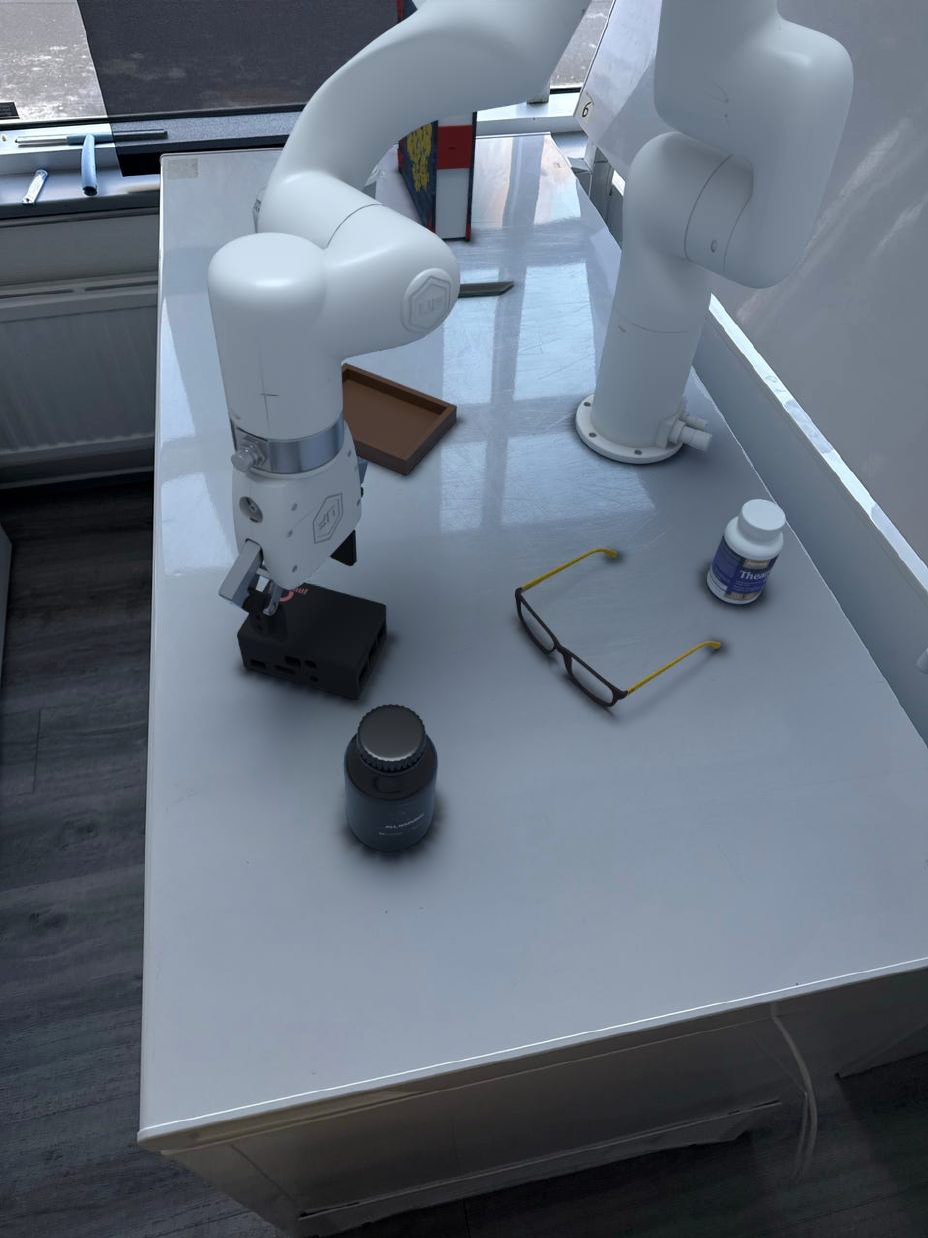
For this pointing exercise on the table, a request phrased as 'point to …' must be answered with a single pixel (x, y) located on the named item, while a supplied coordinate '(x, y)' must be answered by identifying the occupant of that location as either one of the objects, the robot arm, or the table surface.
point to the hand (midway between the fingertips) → (305, 594)
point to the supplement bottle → (390, 778)
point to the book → (440, 165)
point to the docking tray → (392, 419)
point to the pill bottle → (747, 552)
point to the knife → (483, 288)
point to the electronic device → (320, 640)
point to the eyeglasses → (568, 654)
